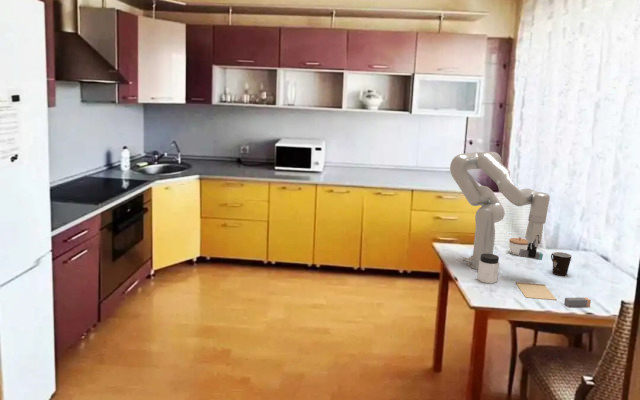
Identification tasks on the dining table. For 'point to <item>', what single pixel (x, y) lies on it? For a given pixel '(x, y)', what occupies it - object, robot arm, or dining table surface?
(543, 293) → the notepad
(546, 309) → the dining table surface
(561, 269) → the coffee mug
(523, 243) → the lidded jar
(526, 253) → the marker
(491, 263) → the jar
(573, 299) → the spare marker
